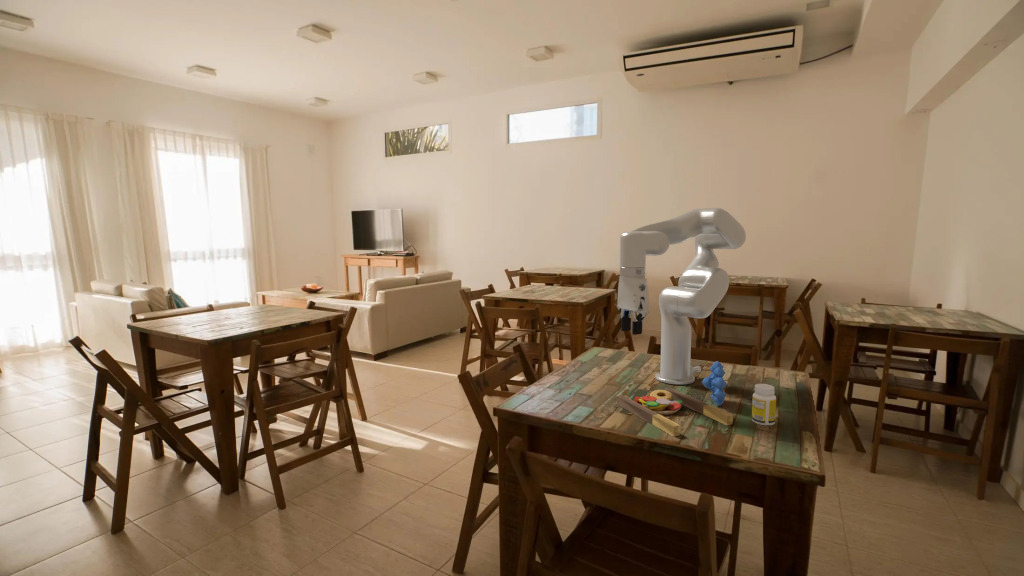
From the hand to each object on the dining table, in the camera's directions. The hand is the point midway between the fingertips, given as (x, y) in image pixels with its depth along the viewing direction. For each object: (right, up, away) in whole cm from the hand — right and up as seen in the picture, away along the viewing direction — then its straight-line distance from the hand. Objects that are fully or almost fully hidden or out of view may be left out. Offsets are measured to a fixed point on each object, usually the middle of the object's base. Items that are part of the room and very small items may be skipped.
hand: (631, 331), depth 144 cm
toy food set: (+5, -21, -10) cm, 24 cm away
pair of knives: (+7, -21, -15) cm, 27 cm away
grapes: (+22, -20, -7) cm, 31 cm away
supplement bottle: (+29, -22, -21) cm, 42 cm away
